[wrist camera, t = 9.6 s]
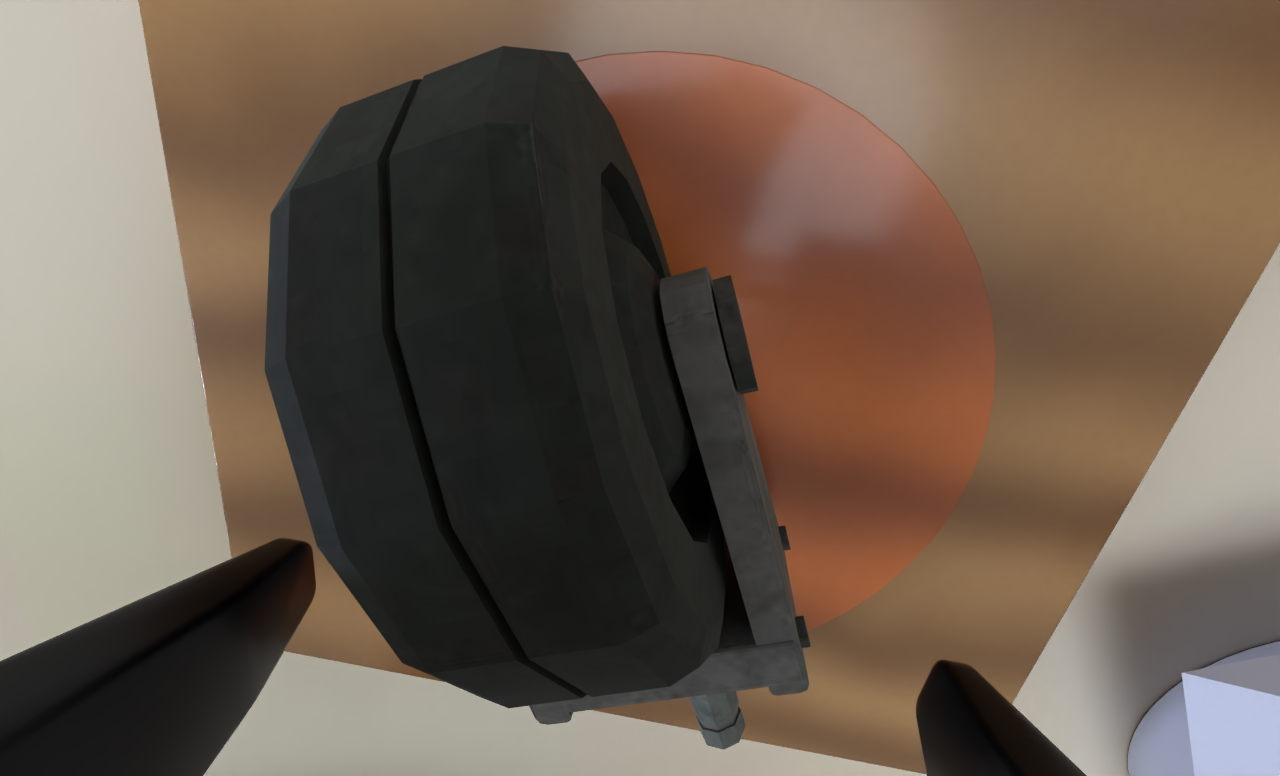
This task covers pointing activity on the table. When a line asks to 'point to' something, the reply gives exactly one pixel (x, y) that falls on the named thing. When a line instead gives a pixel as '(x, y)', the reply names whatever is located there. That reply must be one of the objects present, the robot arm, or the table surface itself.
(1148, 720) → the wedge on round base
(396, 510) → the caster wheel
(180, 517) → the table surface
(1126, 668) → the table surface
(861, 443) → the wooden board
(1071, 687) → the table surface
